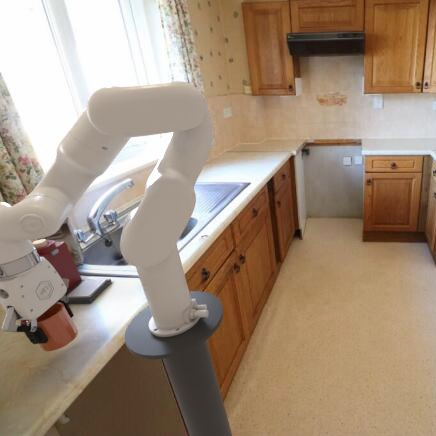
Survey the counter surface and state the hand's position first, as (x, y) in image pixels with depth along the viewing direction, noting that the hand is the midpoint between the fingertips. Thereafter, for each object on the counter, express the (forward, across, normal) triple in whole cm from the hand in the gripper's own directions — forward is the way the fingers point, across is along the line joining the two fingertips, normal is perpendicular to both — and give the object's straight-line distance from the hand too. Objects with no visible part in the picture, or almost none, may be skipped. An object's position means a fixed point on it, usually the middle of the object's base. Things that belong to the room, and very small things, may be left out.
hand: (54, 328), depth 72 cm
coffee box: (+8, +40, +31) cm, 52 cm away
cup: (+3, 0, 0) cm, 3 cm away
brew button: (-9, +24, +19) cm, 32 cm away
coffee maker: (+8, +23, +12) cm, 28 cm away
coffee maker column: (+8, +24, +20) cm, 32 cm away
